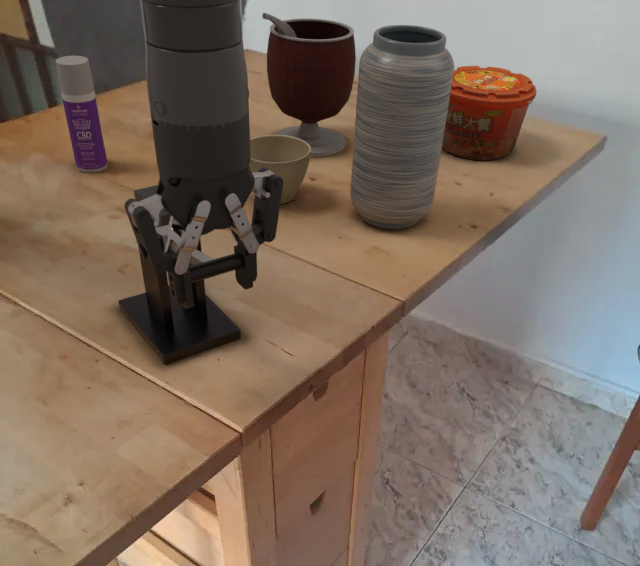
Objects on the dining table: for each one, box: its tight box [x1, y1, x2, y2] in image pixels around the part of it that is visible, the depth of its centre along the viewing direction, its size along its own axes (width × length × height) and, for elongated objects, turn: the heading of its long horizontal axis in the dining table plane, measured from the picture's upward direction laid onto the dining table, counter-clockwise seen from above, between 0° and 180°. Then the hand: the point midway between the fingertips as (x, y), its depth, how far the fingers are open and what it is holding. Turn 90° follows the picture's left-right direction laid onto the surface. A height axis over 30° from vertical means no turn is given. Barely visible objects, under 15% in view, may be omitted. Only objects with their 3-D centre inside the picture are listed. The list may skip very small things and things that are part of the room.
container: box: [55, 55, 109, 174], centre depth 101 cm, size 5×5×15 cm
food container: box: [442, 65, 537, 161], centre depth 114 cm, size 16×16×11 cm
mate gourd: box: [262, 12, 357, 158], centre depth 109 cm, size 16×14×20 cm
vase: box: [349, 24, 455, 230], centre depth 90 cm, size 12×12×23 cm
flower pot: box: [249, 134, 311, 205], centre depth 98 cm, size 10×10×7 cm
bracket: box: [117, 228, 242, 365], centre depth 72 cm, size 12×9×12 cm
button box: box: [133, 181, 171, 228], centre depth 95 cm, size 11×9×4 cm
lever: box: [155, 225, 243, 283], centre depth 66 cm, size 12×6×2 cm, turn 34°
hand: (215, 293), depth 64 cm, fingers closed on lever, 5 cm apart
